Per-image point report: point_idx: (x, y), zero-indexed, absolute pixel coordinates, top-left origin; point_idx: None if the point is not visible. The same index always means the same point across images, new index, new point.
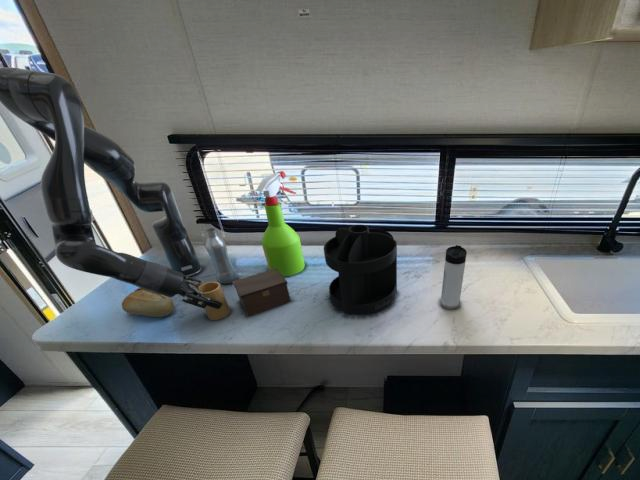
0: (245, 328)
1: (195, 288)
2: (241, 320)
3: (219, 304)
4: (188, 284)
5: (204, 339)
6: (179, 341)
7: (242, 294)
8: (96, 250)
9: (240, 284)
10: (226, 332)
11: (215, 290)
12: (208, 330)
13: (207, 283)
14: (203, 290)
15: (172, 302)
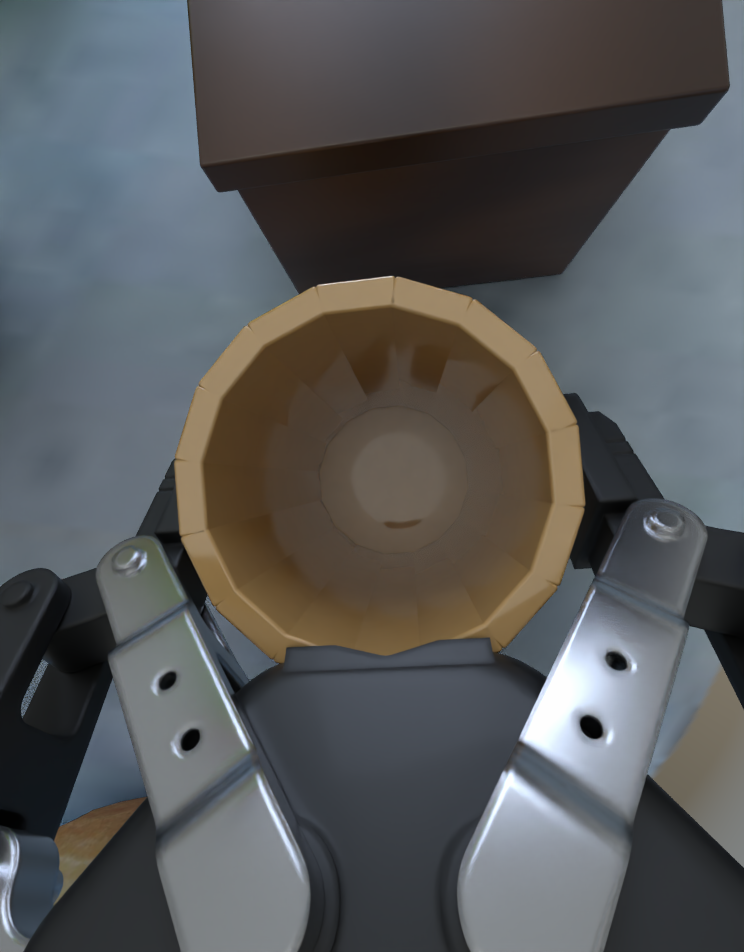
0: (724, 318)
1: (562, 754)
2: (590, 332)
3: (611, 420)
4: (339, 921)
5: None
6: None
7: (700, 50)
8: None
9: (370, 54)
10: (696, 460)
11: (548, 377)
12: (590, 580)
13: (208, 483)
14: (272, 566)
15: (115, 829)
